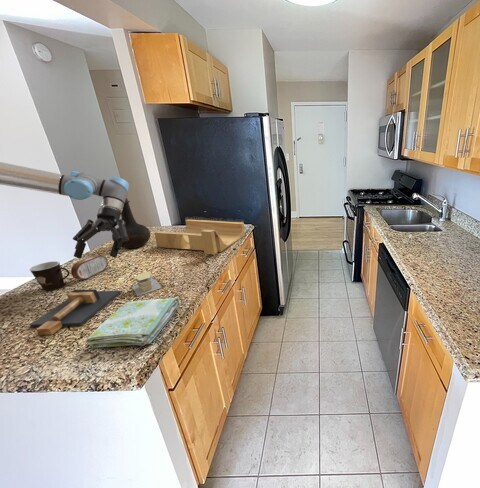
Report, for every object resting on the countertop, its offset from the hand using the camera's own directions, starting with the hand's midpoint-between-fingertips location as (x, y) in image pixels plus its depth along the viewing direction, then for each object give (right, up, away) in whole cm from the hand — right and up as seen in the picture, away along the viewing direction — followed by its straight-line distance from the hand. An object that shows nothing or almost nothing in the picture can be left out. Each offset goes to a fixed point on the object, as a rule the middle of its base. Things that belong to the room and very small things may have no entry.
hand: (95, 257), depth 103 cm
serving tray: (+1, -19, -7) cm, 20 cm away
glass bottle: (-21, +4, +50) cm, 54 cm away
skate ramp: (+17, +6, +54) cm, 56 cm away
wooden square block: (+2, -23, -18) cm, 30 cm away
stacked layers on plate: (+16, -13, +7) cm, 22 cm away
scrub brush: (+1, -14, -4) cm, 14 cm away
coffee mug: (-22, -13, +6) cm, 27 cm away
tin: (-16, -9, +17) cm, 25 cm away
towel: (+29, -23, -16) cm, 40 cm away
